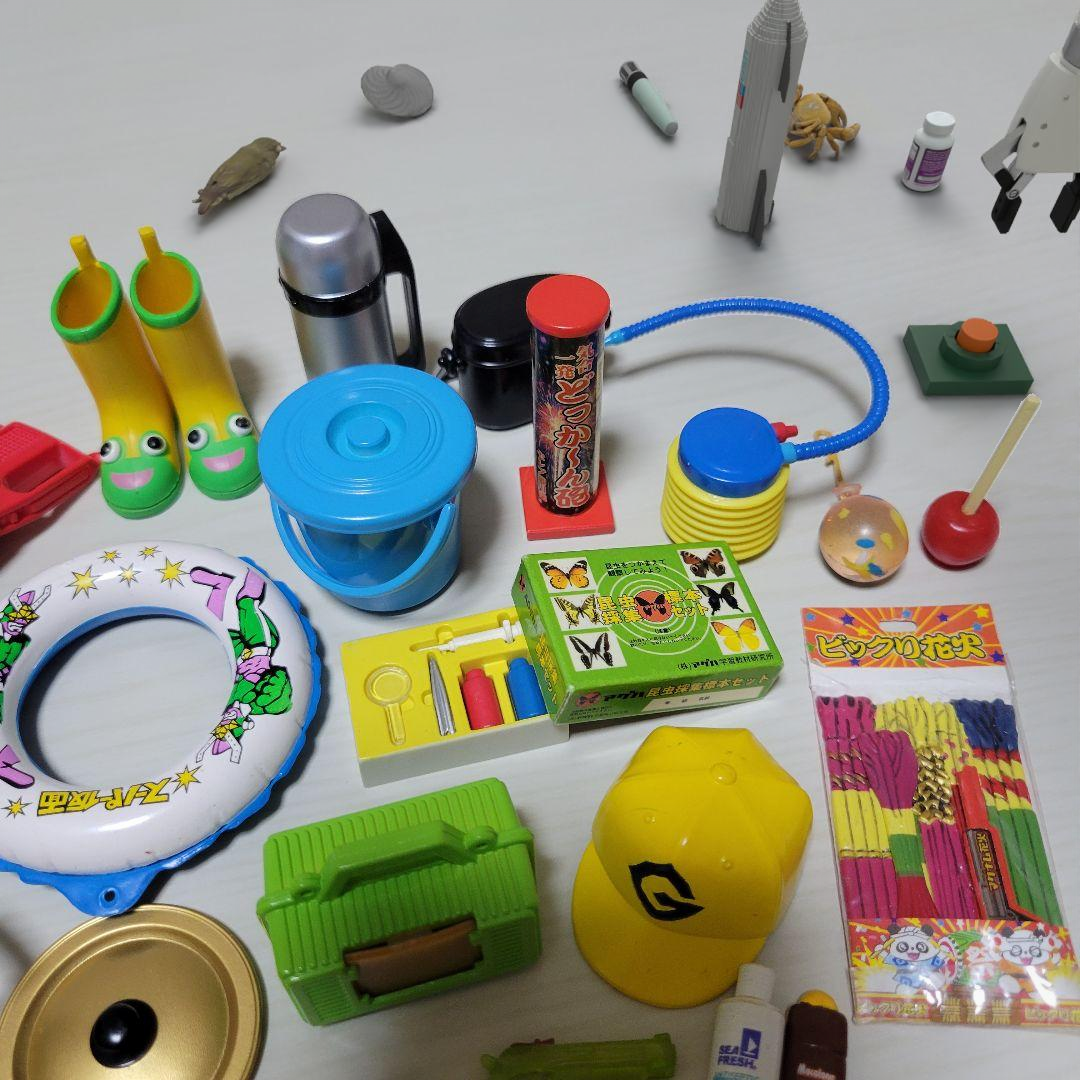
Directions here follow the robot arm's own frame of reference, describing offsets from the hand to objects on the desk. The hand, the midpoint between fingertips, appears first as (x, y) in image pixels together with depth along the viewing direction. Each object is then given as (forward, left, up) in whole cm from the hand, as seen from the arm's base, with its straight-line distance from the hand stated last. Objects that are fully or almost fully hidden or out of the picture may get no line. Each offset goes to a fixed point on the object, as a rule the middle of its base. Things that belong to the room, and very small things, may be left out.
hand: (1028, 224), depth 98 cm
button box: (0, 0, -19) cm, 19 cm away
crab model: (+8, -52, -20) cm, 56 cm away
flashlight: (+32, -61, -20) cm, 72 cm away
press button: (0, 0, -16) cm, 16 cm away
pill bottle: (-5, -39, -20) cm, 44 cm away
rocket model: (+22, -31, -20) cm, 43 cm away
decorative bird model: (+93, -40, -20) cm, 103 cm away
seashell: (+72, -63, -20) cm, 98 cm away
